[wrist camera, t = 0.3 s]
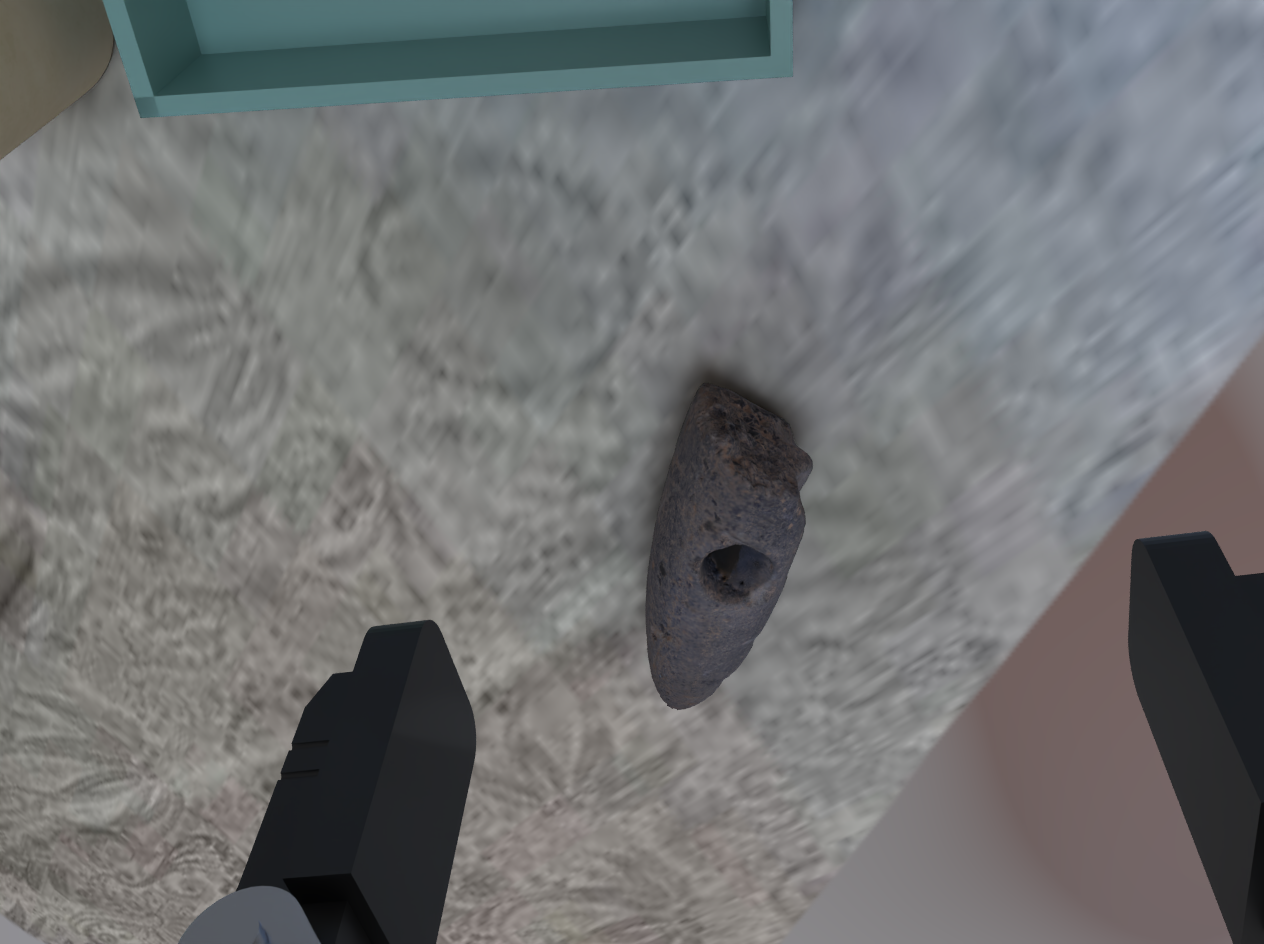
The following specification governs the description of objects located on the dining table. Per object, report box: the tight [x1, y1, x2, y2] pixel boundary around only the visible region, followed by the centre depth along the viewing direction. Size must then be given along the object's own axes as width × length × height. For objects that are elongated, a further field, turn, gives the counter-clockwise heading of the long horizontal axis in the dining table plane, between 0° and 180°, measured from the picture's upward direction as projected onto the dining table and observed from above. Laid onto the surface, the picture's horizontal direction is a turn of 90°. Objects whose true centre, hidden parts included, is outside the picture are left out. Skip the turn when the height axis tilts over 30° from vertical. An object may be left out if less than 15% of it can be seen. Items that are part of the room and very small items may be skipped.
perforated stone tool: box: [646, 383, 813, 710], centre depth 46 cm, size 15×5×7 cm, turn 168°
